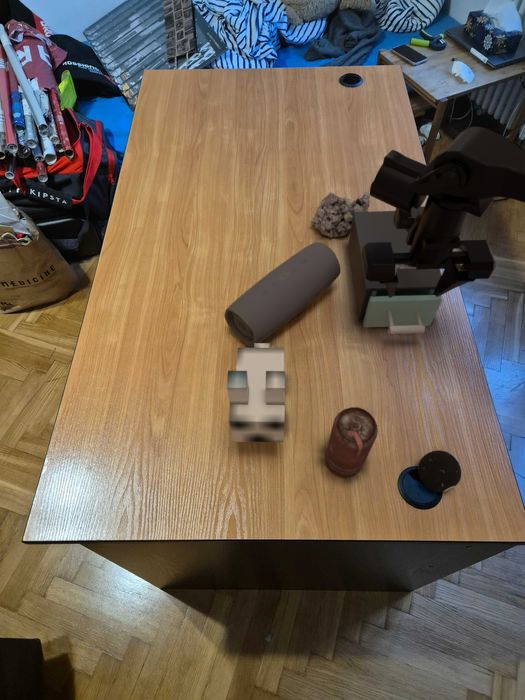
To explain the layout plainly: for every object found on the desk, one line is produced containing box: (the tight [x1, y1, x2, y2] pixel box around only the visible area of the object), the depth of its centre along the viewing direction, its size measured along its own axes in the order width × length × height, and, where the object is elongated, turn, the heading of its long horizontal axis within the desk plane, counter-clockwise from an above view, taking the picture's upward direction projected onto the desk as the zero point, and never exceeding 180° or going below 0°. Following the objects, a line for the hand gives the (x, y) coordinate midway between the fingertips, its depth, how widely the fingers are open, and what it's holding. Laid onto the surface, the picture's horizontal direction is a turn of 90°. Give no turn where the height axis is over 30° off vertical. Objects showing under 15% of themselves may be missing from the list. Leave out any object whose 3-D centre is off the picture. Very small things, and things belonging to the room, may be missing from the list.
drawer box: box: [347, 210, 442, 322], centre depth 91 cm, size 20×14×10 cm
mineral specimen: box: [309, 191, 371, 238], centre depth 101 cm, size 12×9×10 cm
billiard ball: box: [417, 449, 462, 493], centre depth 71 cm, size 6×6×6 cm
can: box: [324, 406, 379, 478], centre depth 69 cm, size 6×6×14 cm
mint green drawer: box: [362, 290, 443, 335], centre depth 88 cm, size 23×12×8 cm, turn 1°
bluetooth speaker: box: [224, 241, 341, 347], centre depth 88 cm, size 23×9×10 cm, turn 134°
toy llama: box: [226, 342, 286, 443], centre depth 72 cm, size 8×18×20 cm, turn 179°
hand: (412, 295), depth 77 cm, fingers open, 7 cm apart
